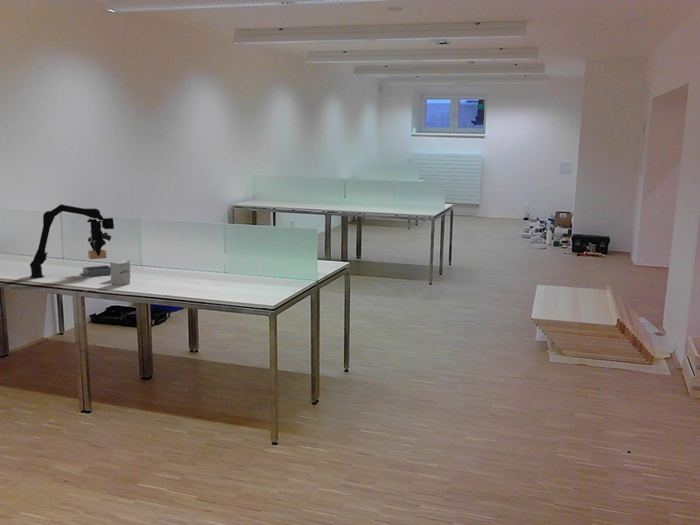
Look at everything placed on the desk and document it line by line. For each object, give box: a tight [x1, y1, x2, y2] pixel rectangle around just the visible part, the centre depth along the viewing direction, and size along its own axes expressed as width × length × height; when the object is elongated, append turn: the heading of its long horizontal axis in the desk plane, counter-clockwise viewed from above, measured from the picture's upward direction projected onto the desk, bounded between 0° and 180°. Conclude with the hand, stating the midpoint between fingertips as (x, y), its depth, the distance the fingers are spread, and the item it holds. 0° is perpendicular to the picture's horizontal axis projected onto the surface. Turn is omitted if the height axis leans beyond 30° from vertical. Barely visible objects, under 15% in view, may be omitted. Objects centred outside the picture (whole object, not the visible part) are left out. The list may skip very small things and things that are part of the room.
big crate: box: [82, 265, 111, 278], centre depth 384 cm, size 15×15×4 cm
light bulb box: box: [109, 259, 131, 271], centre depth 368 cm, size 11×7×11 cm, turn 168°
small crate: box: [88, 249, 107, 260], centre depth 382 cm, size 6×9×4 cm, turn 125°
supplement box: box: [109, 261, 131, 286], centre depth 353 cm, size 7×7×13 cm
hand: (97, 254), depth 382 cm, fingers closed on small crate, 6 cm apart
